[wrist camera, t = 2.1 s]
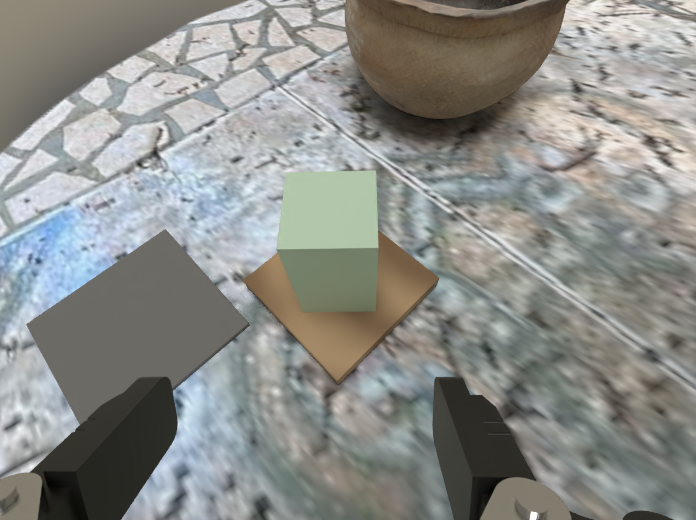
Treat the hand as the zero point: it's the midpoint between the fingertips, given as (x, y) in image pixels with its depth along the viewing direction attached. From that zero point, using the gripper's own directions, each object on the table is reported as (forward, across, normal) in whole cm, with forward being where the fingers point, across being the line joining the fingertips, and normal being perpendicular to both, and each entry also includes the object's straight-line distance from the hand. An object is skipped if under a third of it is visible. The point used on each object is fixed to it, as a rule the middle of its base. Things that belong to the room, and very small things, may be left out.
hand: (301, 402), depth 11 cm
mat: (+19, +18, +6) cm, 27 cm away
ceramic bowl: (+41, -11, -15) cm, 45 cm away
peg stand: (+22, 0, +4) cm, 22 cm away
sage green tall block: (+21, 0, +3) cm, 21 cm away
